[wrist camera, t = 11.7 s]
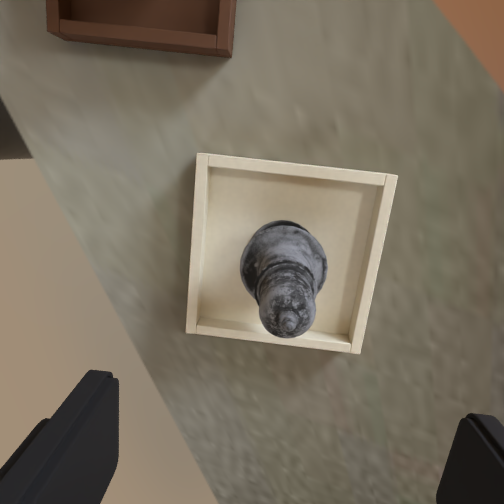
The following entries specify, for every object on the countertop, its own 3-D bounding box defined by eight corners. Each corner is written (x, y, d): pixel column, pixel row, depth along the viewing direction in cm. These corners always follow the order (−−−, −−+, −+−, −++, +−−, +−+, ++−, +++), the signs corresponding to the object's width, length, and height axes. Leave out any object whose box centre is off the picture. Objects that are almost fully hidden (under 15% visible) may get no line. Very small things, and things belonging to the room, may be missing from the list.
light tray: (191, 321, 30) (185, 333, 28) (202, 152, 26) (196, 153, 24) (354, 341, 30) (360, 354, 28) (389, 173, 26) (398, 175, 24)
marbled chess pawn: (337, 252, 27) (384, 328, 16) (283, 304, 29) (290, 408, 17) (281, 199, 26) (287, 237, 15) (227, 255, 28) (196, 330, 16)
